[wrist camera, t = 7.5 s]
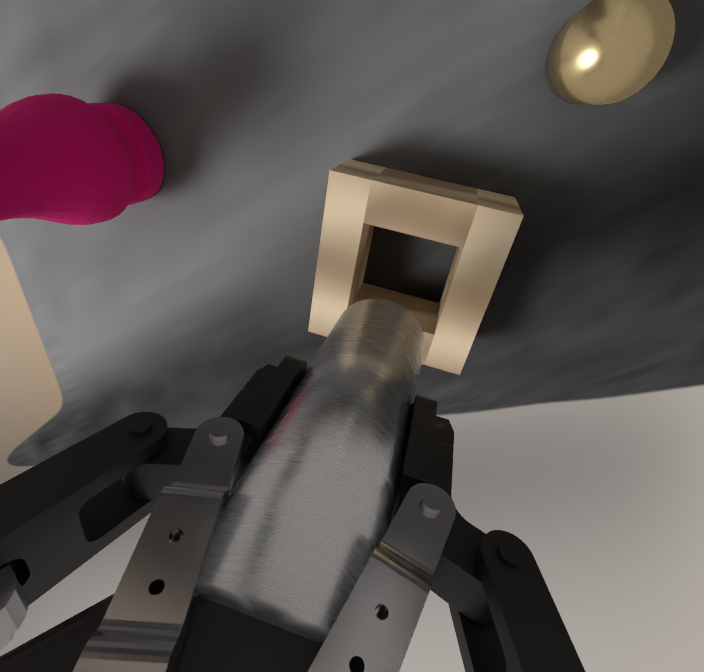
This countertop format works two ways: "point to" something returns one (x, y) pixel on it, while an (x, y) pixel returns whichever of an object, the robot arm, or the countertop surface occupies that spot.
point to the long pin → (321, 478)
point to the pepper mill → (74, 160)
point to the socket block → (422, 221)
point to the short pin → (610, 50)
